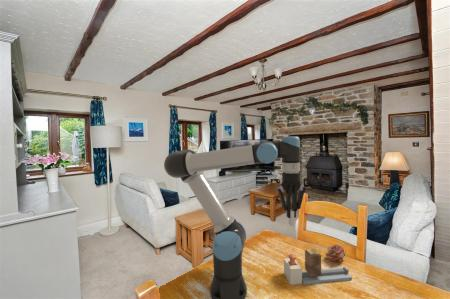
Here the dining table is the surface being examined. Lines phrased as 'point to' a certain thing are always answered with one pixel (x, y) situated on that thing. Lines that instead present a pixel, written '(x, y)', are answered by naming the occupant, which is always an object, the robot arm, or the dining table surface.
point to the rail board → (327, 276)
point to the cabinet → (293, 272)
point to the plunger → (292, 259)
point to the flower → (335, 252)
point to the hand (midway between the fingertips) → (291, 224)
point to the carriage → (312, 262)
